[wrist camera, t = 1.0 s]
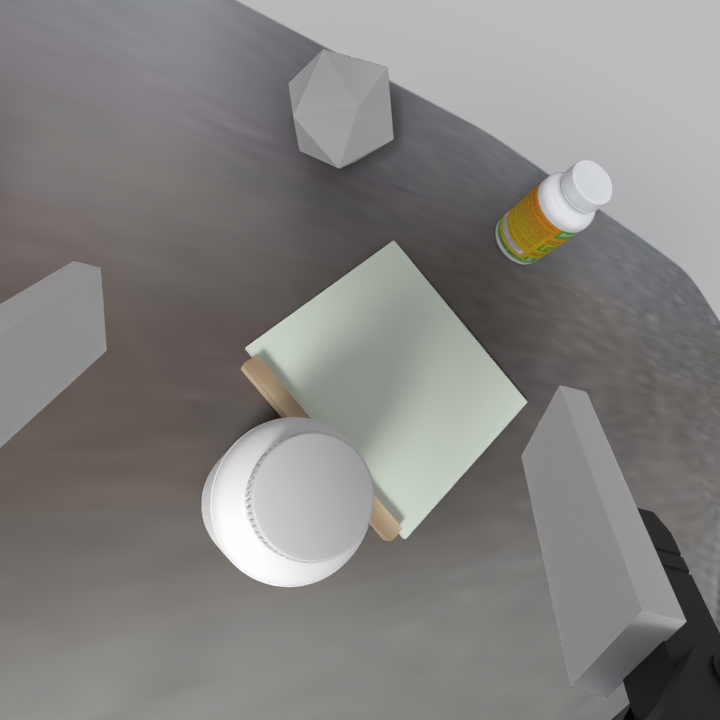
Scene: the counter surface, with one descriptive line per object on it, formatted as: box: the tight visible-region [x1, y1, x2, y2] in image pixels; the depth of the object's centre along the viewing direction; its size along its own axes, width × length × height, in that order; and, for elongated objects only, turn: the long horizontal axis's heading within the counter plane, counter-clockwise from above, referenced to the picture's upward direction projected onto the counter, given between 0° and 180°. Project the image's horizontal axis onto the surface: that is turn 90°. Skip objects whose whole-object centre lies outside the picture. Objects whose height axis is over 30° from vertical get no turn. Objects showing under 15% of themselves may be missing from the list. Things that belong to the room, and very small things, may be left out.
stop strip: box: [241, 354, 402, 541], centre depth 36 cm, size 1×16×2 cm, turn 43°
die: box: [288, 49, 394, 168], centre depth 40 cm, size 8×9×10 cm
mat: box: [245, 240, 527, 539], centre depth 40 cm, size 16×18×1 cm
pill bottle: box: [202, 417, 374, 587], centre depth 27 cm, size 8×8×15 cm
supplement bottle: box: [495, 160, 613, 265], centre depth 44 cm, size 5×5×10 cm
